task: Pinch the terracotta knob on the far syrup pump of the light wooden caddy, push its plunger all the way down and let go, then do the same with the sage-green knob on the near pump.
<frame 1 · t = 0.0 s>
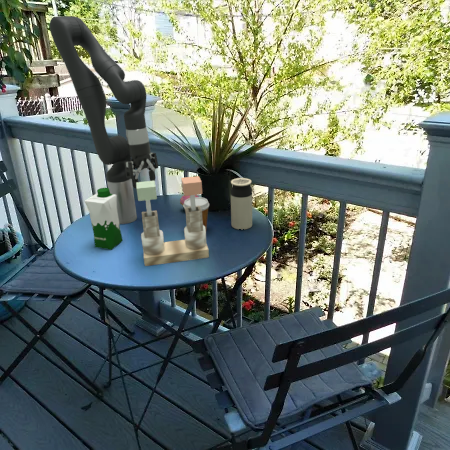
hand: (144, 184, 148), 17 cm above the table, tool pointing down, fingers open, 8 cm apart
travel mug: (241, 226, 153), on the table
terracotta plunger: (192, 196, 127), point 21 cm above the table, slide at 5.0 cm
disposable coffee cup: (198, 231, 150), on the table
milk carton: (108, 244, 143), on the table
sage plunger: (147, 201, 125), point 21 cm above the table, slide at 5.0 cm
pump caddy: (176, 254, 135), on the table
cupcake: (190, 210, 168), on the table
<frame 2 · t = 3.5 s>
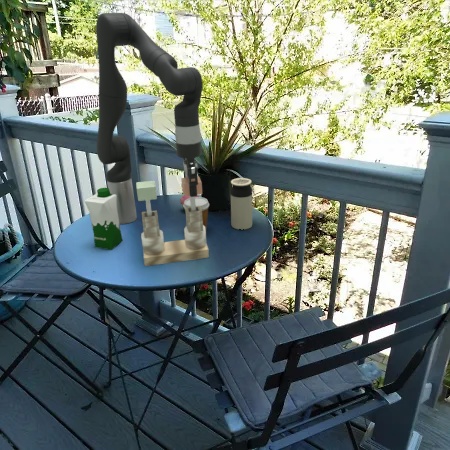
hand: (192, 192, 126), 22 cm above the table, tool pointing down, fingers closed on terracotta plunger, 5 cm apart
terracotta plunger: (192, 196, 127), point 20 cm above the table, slide at 4.9 cm, touching gripper
everything else where it was.
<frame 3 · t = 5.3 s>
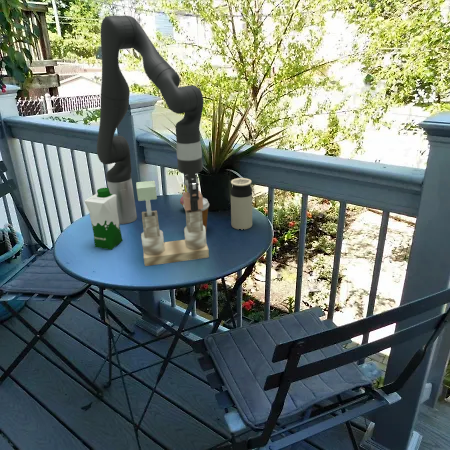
hand: (193, 206, 129), 17 cm above the table, tool pointing down, fingers closed on terracotta plunger, 5 cm apart
terracotta plunger: (193, 210, 129), point 16 cm above the table, slide at 0.1 cm, touching gripper
everything else where it was.
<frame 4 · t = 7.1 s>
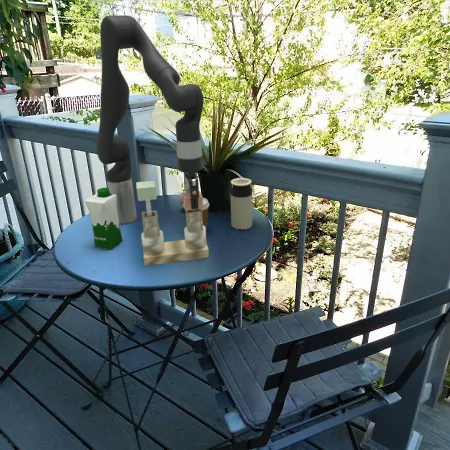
hand: (193, 203, 128), 18 cm above the table, tool pointing down, fingers open, 8 cm apart
terracotta plunger: (193, 210, 129), point 16 cm above the table, slide at 0.0 cm
everything else where it was.
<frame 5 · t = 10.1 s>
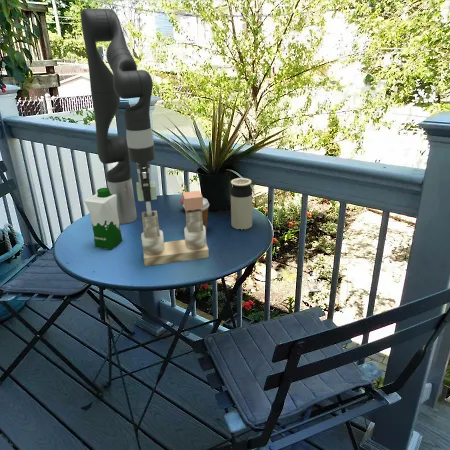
hand: (147, 197, 124), 22 cm above the table, tool pointing down, fingers closed on sage plunger, 5 cm apart
sage plunger: (147, 201, 125), point 20 cm above the table, slide at 4.9 cm, touching gripper
everything else where it was.
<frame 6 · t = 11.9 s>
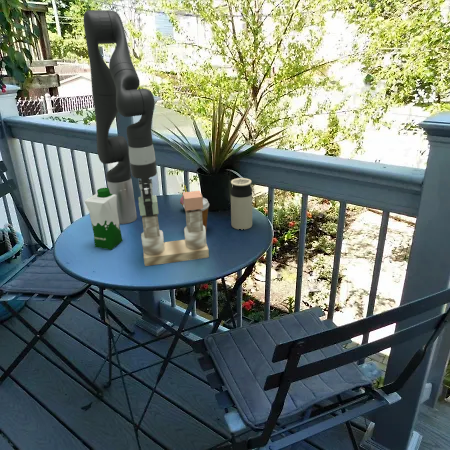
hand: (149, 211, 126), 17 cm above the table, tool pointing down, fingers closed on sage plunger, 5 cm apart
sage plunger: (149, 215, 127), point 16 cm above the table, slide at 0.1 cm, touching gripper
everything else where it was.
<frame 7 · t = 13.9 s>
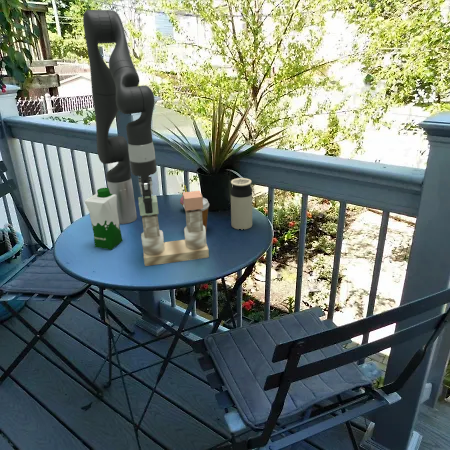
hand: (148, 207, 125), 18 cm above the table, tool pointing down, fingers open, 8 cm apart
sage plunger: (149, 215, 127), point 16 cm above the table, slide at 0.1 cm
everything else where it was.
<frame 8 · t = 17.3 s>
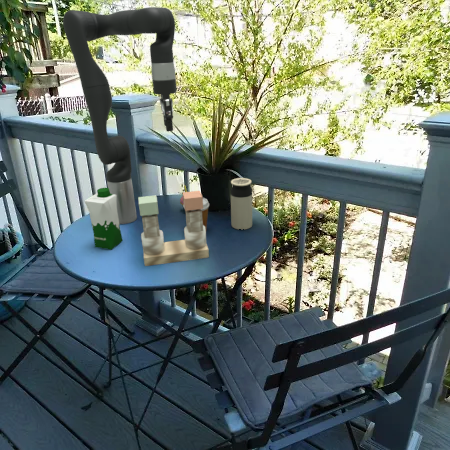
hand: (168, 128, 136), 38 cm above the table, tool pointing down, fingers open, 8 cm apart
nothing on the table moved.
at the end: terracotta plunger slide at 0.0 cm; sage plunger slide at 0.1 cm; the gripper is holding nothing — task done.
